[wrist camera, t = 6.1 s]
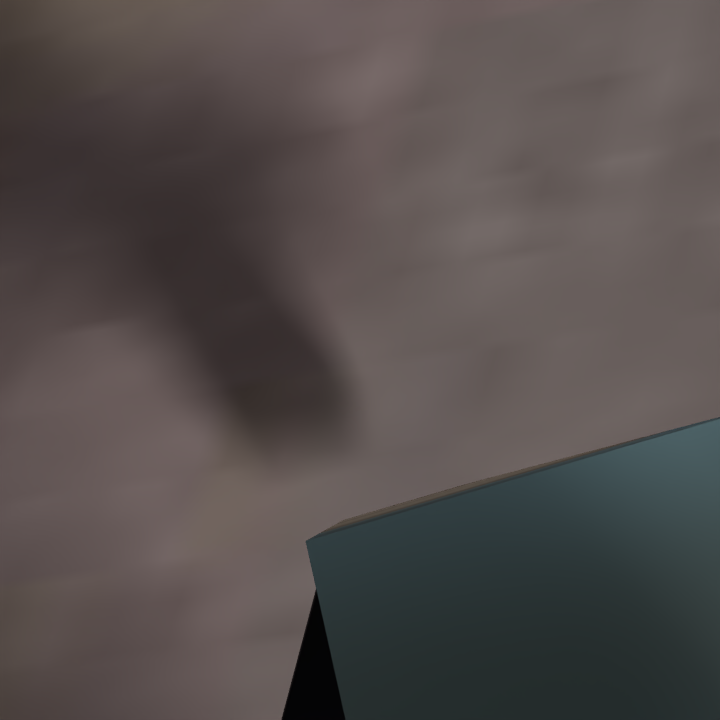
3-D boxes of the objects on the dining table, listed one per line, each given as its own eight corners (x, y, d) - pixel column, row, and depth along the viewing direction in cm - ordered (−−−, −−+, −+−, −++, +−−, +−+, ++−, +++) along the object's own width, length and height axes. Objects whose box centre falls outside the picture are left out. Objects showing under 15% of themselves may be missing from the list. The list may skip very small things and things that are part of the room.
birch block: (513, 622, 15) (1160, 1070, 3) (380, 666, 14) (498, 1401, 2) (466, 484, 16) (774, 402, 4) (343, 519, 16) (306, 541, 4)
